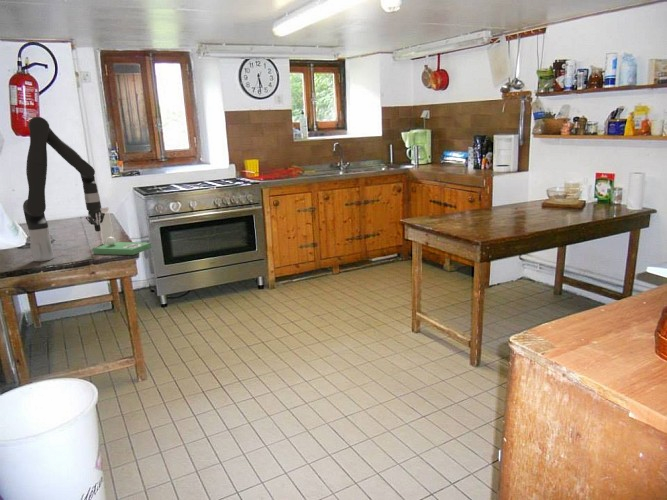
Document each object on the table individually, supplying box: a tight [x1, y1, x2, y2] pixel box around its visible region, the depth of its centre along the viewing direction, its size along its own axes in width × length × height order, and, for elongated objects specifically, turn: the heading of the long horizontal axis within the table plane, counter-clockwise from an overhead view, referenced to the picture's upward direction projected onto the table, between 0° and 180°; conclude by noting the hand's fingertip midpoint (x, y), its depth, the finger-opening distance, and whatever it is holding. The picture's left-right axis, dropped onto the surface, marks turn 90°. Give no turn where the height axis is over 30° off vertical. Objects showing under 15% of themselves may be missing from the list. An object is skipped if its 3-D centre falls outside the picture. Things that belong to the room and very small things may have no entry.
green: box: [92, 241, 152, 256], centre depth 278 cm, size 16×26×3 cm, turn 74°
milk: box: [100, 207, 115, 245], centre depth 297 cm, size 6×6×22 cm
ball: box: [106, 237, 117, 246], centre depth 279 cm, size 5×5×5 cm
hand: (98, 231), depth 280 cm, fingers closed
